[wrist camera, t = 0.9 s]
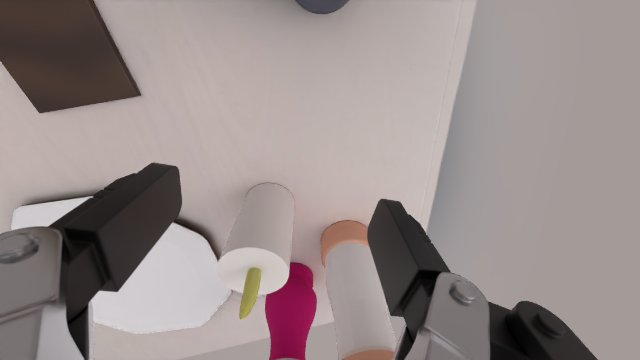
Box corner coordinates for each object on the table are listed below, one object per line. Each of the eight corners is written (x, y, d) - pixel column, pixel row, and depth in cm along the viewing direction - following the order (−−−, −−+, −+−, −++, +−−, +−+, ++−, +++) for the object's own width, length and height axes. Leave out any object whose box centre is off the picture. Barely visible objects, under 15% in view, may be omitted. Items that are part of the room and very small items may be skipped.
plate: (249, 313, 41) (247, 321, 39) (99, 331, 42) (93, 340, 40) (184, 178, 27) (178, 184, 26) (-37, 209, 28) (-54, 217, 27)
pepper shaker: (379, 228, 32) (455, 417, 16) (357, 262, 36) (400, 449, 19) (332, 214, 31) (359, 408, 14) (313, 251, 34) (317, 445, 17)
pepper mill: (291, 296, 39) (277, 494, 22) (260, 274, 36) (215, 484, 19) (325, 277, 37) (339, 479, 20) (294, 253, 34) (280, 465, 17)
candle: (244, 221, 31) (197, 348, 18) (246, 179, 28) (190, 295, 15) (291, 226, 32) (279, 351, 19) (298, 186, 28) (289, 302, 15)
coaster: (-49, -16, 18) (-60, -18, 18) (72, -40, 18) (65, -43, 17) (45, 111, 23) (39, 113, 22) (141, 95, 23) (137, 96, 22)
